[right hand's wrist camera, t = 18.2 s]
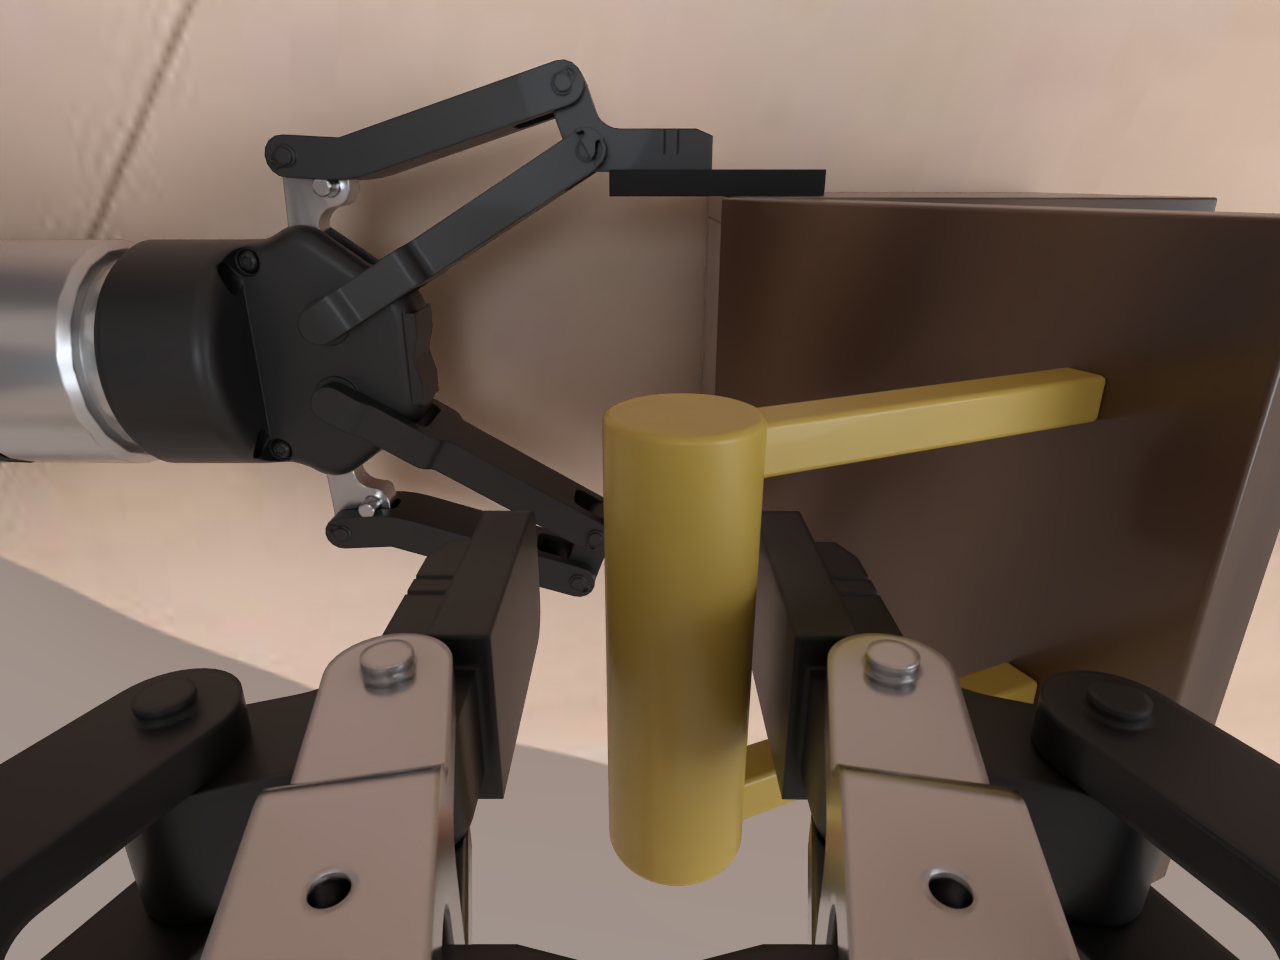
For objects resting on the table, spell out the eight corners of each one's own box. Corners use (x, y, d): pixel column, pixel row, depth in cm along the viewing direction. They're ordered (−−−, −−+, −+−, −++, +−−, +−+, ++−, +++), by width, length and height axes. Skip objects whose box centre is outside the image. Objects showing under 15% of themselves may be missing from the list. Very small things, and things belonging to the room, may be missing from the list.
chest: (1036, 192, 30) (1219, 197, 21) (992, 441, 34) (1130, 544, 24) (707, 192, 30) (738, 196, 21) (700, 441, 34) (722, 542, 24)
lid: (1385, 216, 9) (725, 236, 6) (1166, 878, 13) (691, 1129, 9) (762, 197, 20) (420, 199, 17) (742, 548, 24) (459, 608, 21)
